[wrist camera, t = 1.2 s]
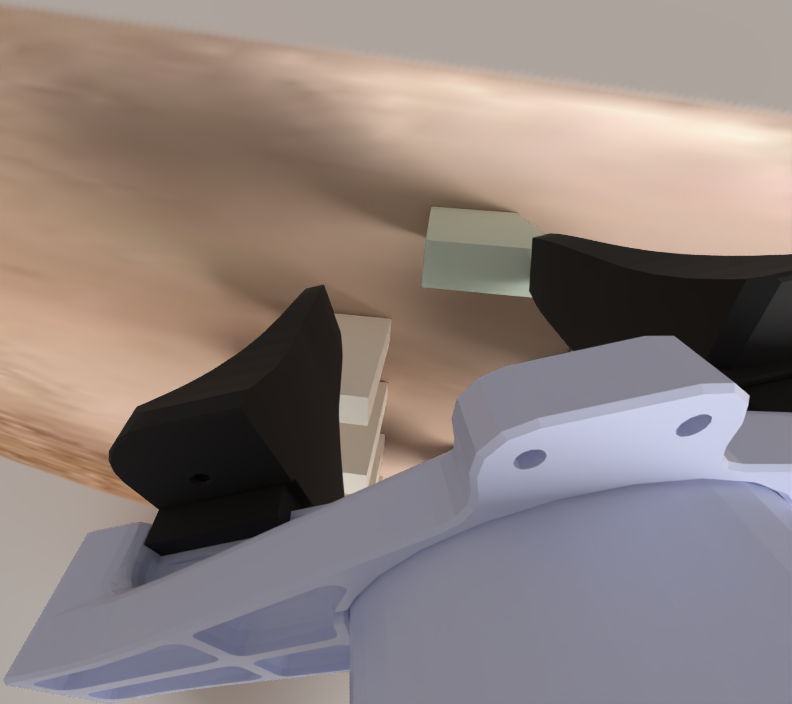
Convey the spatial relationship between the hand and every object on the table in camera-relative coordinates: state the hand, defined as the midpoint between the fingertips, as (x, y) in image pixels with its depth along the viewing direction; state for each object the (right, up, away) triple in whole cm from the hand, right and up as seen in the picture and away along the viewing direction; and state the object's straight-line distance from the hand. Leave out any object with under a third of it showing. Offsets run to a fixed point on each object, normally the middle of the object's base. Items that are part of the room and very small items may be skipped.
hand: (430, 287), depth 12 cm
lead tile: (+3, +5, +9) cm, 11 cm away
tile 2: (-4, 0, +13) cm, 13 cm away
